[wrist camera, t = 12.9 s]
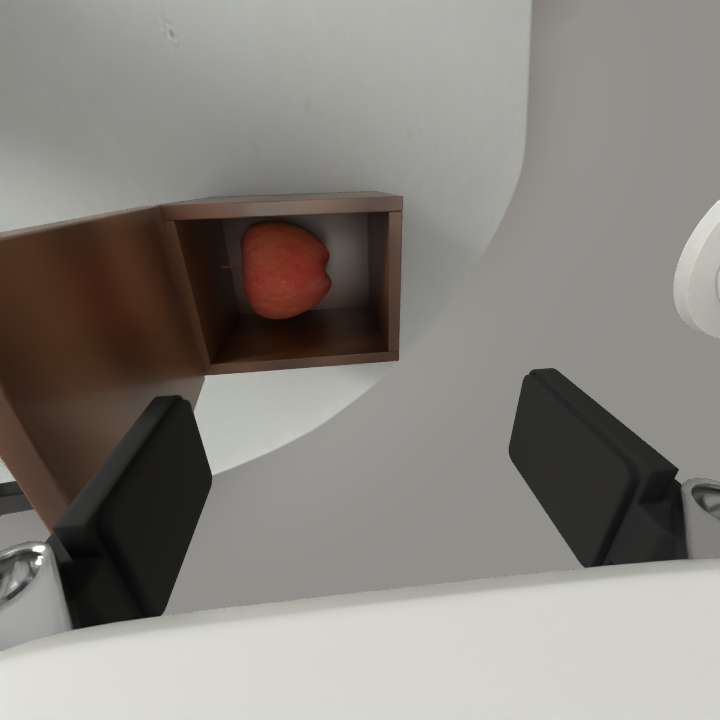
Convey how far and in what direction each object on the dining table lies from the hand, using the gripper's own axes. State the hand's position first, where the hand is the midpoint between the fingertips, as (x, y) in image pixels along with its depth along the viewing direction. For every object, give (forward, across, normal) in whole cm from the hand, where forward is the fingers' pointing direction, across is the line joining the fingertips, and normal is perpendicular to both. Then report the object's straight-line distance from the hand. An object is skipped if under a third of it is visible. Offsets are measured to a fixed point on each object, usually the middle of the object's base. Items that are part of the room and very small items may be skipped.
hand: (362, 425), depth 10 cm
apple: (+20, 0, 0) cm, 20 cm away
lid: (+6, +9, 0) cm, 10 cm away
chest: (+24, +3, 0) cm, 25 cm away
